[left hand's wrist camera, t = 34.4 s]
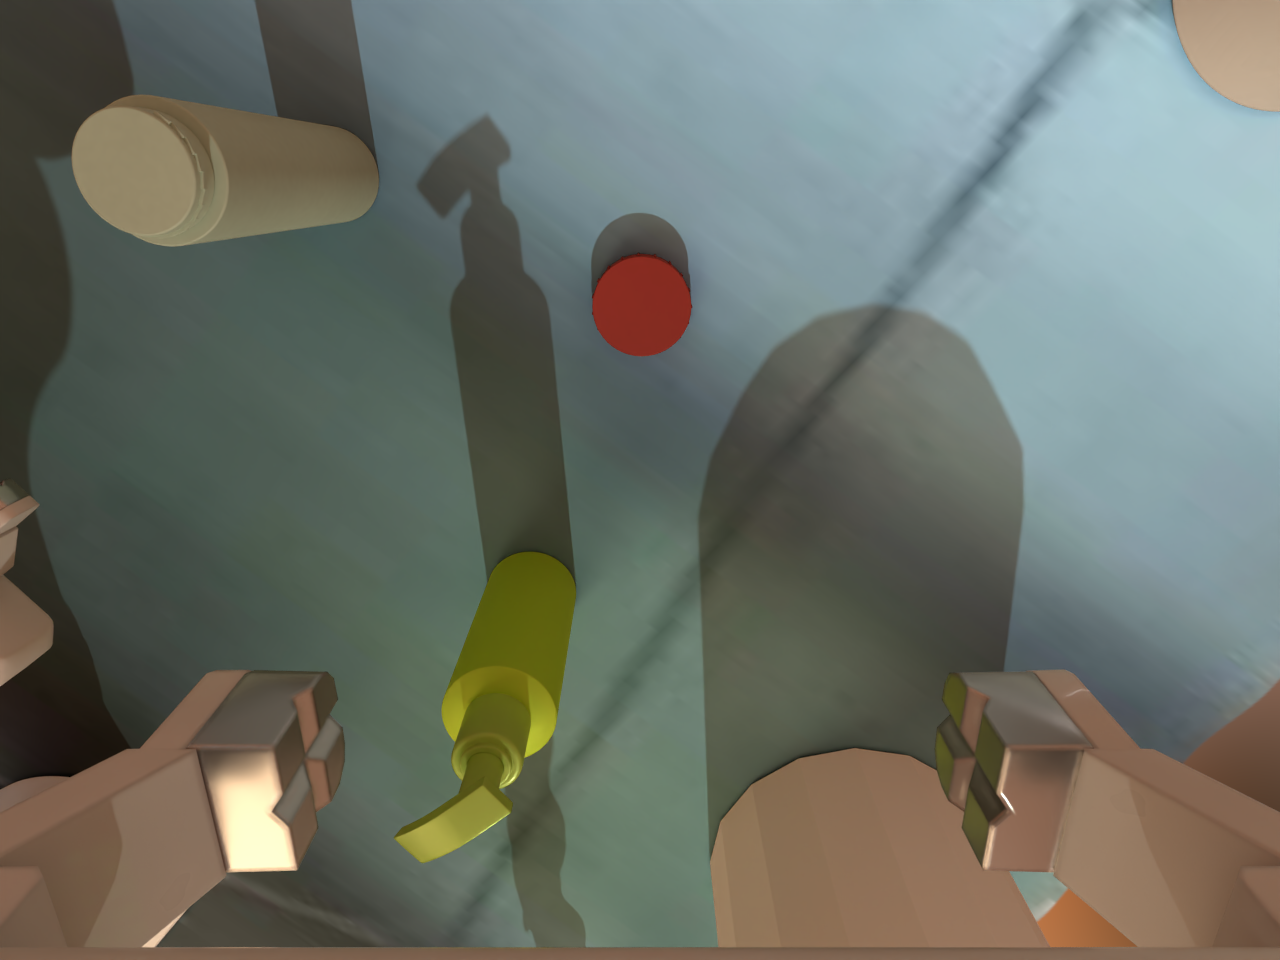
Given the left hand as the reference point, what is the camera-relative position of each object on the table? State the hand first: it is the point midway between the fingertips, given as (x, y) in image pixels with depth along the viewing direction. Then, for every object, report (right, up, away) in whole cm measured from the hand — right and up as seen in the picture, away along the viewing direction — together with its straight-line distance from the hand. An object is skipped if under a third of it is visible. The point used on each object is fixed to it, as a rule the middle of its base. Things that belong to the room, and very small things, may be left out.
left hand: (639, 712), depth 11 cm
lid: (0, +13, +34) cm, 37 cm away
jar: (-17, +20, +33) cm, 42 cm away
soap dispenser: (-8, -5, +42) cm, 43 cm away
